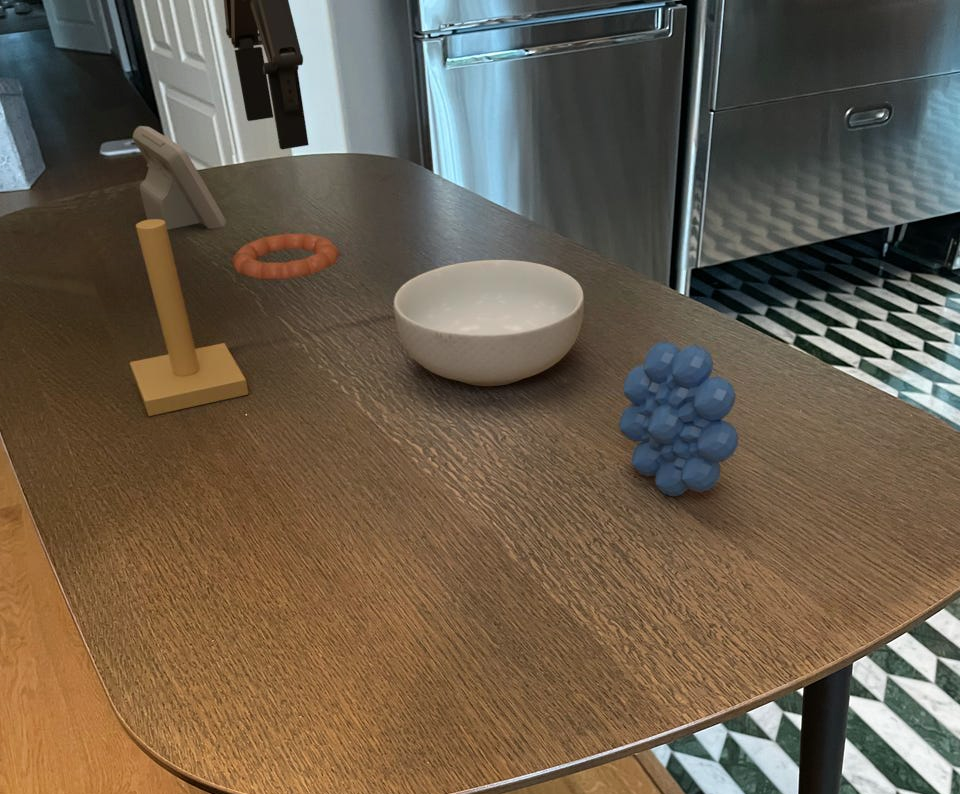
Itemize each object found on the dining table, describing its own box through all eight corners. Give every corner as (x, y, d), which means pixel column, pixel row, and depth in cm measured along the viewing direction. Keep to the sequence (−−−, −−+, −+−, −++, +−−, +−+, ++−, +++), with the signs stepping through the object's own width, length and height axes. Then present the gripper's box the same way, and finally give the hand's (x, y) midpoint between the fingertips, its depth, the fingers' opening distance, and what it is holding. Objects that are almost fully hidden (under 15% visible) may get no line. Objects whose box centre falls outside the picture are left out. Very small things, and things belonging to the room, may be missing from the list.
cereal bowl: (363, 373, 93) (353, 298, 88) (488, 317, 102) (485, 246, 97) (494, 430, 84) (491, 349, 79) (619, 363, 92) (623, 287, 88)
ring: (226, 262, 117) (221, 242, 116) (322, 245, 121) (319, 224, 119) (249, 296, 109) (245, 274, 107) (352, 276, 112) (350, 254, 111)
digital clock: (230, 237, 124) (212, 144, 118) (157, 248, 122) (134, 155, 115) (211, 201, 136) (193, 115, 129) (144, 211, 134) (122, 124, 127)
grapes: (767, 511, 73) (794, 354, 65) (694, 540, 70) (713, 381, 62) (666, 445, 80) (679, 298, 73) (597, 470, 78) (603, 320, 70)
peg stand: (133, 376, 94) (88, 217, 85) (227, 357, 97) (193, 200, 88) (148, 416, 88) (101, 249, 79) (249, 394, 91) (215, 229, 81)
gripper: (313, -131, 81) (348, 153, 94) (242, -136, 98) (280, 103, 112) (221, -123, 78) (271, 166, 92) (165, -130, 96) (214, 113, 110)
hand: (276, 132), depth 102 cm, fingers open, 13 cm apart
